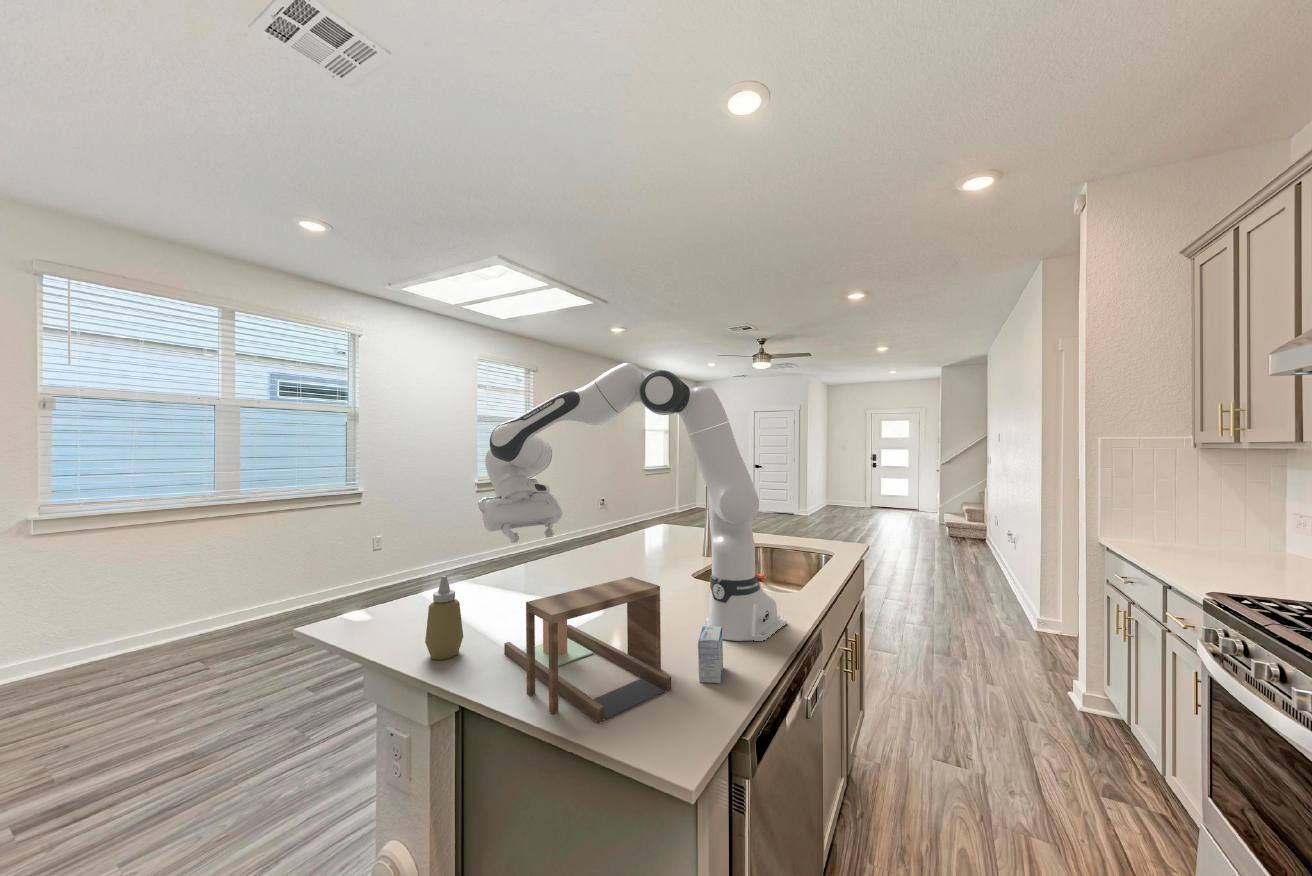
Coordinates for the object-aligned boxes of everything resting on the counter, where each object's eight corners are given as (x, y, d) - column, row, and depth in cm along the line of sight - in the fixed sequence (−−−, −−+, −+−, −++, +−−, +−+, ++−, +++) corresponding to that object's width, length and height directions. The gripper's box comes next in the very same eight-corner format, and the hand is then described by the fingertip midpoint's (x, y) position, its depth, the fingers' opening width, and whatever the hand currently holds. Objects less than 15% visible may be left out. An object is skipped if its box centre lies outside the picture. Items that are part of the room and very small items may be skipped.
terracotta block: (558, 647, 114) (558, 613, 114) (567, 652, 111) (567, 617, 112) (543, 652, 112) (542, 617, 112) (551, 657, 109) (551, 621, 109)
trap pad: (642, 679, 99) (642, 678, 99) (665, 692, 94) (665, 690, 94) (584, 704, 90) (584, 702, 90) (606, 720, 84) (606, 718, 84)
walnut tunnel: (583, 629, 126) (583, 561, 126) (687, 682, 98) (686, 594, 98) (485, 659, 109) (485, 581, 109) (576, 734, 80) (575, 627, 81)
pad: (566, 638, 120) (566, 637, 120) (593, 654, 111) (593, 652, 111) (516, 654, 112) (516, 652, 112) (542, 672, 103) (542, 670, 103)
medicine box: (720, 684, 97) (720, 640, 97) (698, 682, 97) (697, 639, 98) (723, 666, 104) (722, 626, 104) (702, 665, 105) (702, 625, 105)
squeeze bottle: (471, 651, 114) (470, 574, 114) (442, 665, 106) (442, 583, 107) (446, 645, 117) (445, 570, 117) (417, 659, 110) (416, 579, 110)
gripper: (479, 490, 119) (496, 535, 111) (553, 485, 132) (573, 525, 125) (472, 507, 122) (488, 552, 114) (545, 500, 135) (564, 540, 128)
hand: (533, 538), depth 120 cm, fingers open, 8 cm apart
